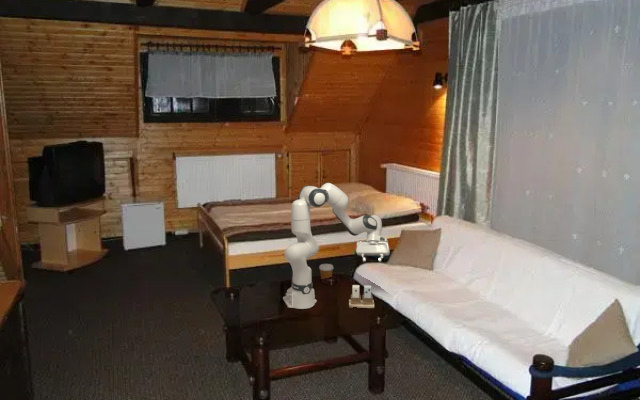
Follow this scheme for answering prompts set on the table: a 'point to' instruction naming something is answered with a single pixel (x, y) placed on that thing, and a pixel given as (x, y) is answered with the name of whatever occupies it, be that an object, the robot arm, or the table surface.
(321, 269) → the disposable coffee cup
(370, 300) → the key console
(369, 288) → the key two
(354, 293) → the key one
